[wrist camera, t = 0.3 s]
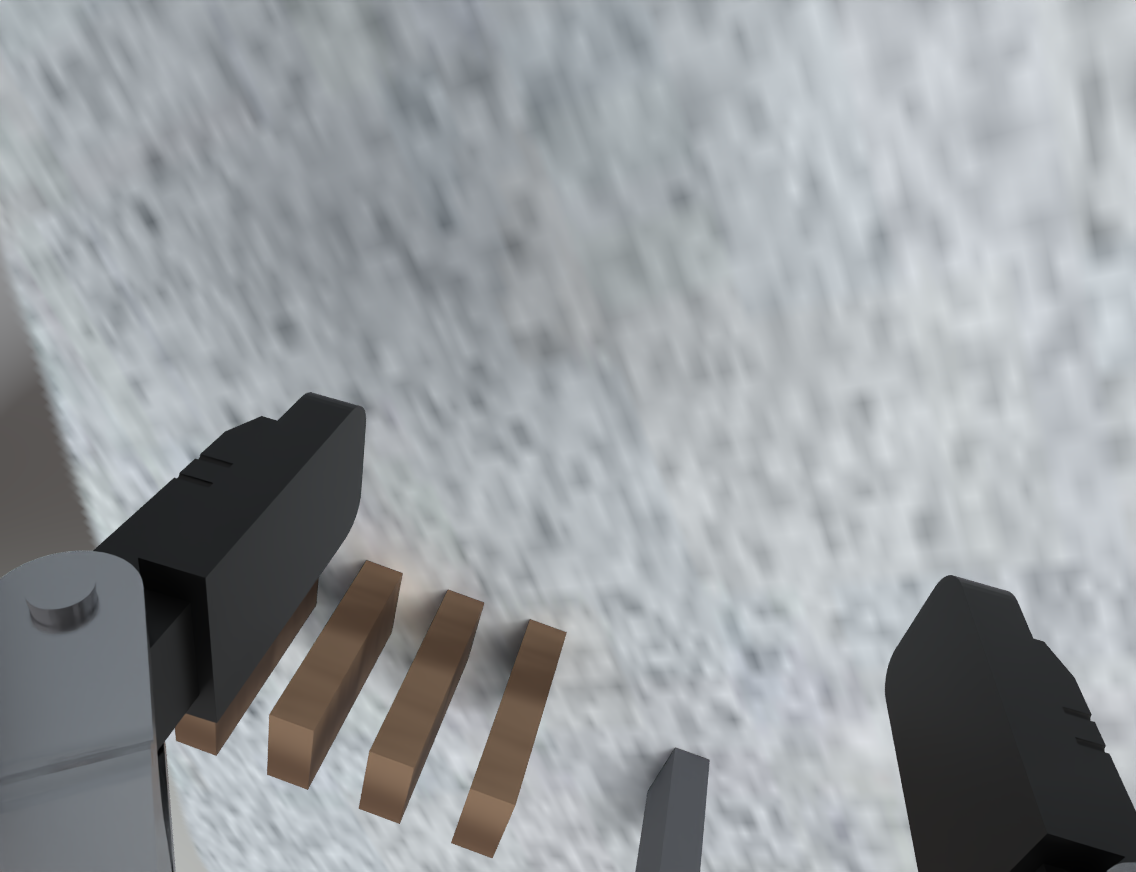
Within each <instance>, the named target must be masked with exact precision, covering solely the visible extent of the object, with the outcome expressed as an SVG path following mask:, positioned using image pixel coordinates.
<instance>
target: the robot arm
mask: <svg viewBox="0 0 1136 872" xmlns="http://www.w3.org/2000/svg"><path fill="white" fill-rule="evenodd" d="M365 428H366V414H365V410H364V408H363V407H361V406H358V405H354V404H350V403H347V402H343V401H340V400H336V399H333V398H329V397H326V396H322V395H319V394H315V393H312V392H309V393H306V394H305V395H303V396H302V397H301V398H300V399H299V400H298V401H297V402H296V403H295V404H294V405H293V406H292V407H291V408H290V409H289V410H288V411H287V412H286V413H285V414H284V415H283V416H282V417H281V418H280V419H279V420H278V421H277V420H273V419H270V418H266V417H263V416H261V417H258V418H256V419H254V420H251V421H249V422H247V423H244V424H242V425H240V426H237V427H235V428H232V429H230V430H228V431H225V432H224V433H223V434H222V435H221V436H220V437H219V438H218V439H217V440H215V441H214V442H213V443H212V444H211V445H210V446H209V447H208V448H207V449H205V450H204V451H203V452H202V453H201V454H200V458H199V459H194V460H193V461H192V462H191V463H190V464H189V465H188V466H187V467H186V468H184V469H183V470H182V471H181V472H180V473H179V477H178V478H173V479H172V480H171V481H170V482H169V483H168V484H167V485H166V486H164V487H163V488H162V489H161V490H160V491H159V492H158V493H157V494H156V495H154V496H153V497H152V498H151V499H150V500H149V501H148V502H147V503H146V504H144V505H143V506H142V507H141V508H140V509H139V510H138V511H137V512H136V513H134V514H133V515H132V516H131V517H130V518H129V519H128V520H127V521H126V522H125V523H123V524H122V525H121V526H120V527H119V528H118V529H117V530H116V531H115V532H113V533H112V534H111V535H110V536H109V537H108V538H107V539H106V540H105V541H103V542H102V543H101V544H100V545H99V546H98V547H97V548H96V549H95V550H93V551H71V552H62V553H57V554H52V555H48V556H44V557H41V558H38V559H35V560H33V561H30V562H28V563H25V564H23V565H21V566H19V567H17V568H15V569H13V570H12V571H10V572H9V573H7V574H6V575H4V576H3V577H1V578H0V872H176V870H175V857H174V844H173V832H172V818H171V807H170V793H169V780H168V767H167V754H166V744H165V740H166V739H167V738H168V736H169V735H170V734H171V732H172V731H173V730H174V728H175V727H176V726H177V724H178V723H179V722H180V720H181V719H182V717H183V716H184V715H185V714H189V715H192V716H195V717H198V718H201V719H205V720H208V721H211V722H214V723H218V721H219V720H220V718H221V717H222V715H223V714H224V712H225V711H226V710H227V708H228V707H229V705H230V704H231V702H232V701H233V700H234V698H235V697H236V695H237V694H238V692H239V691H240V689H241V688H242V687H243V685H244V684H245V682H246V681H247V679H248V678H249V677H250V675H251V674H252V672H253V671H254V669H255V668H256V666H257V665H258V664H259V662H260V661H261V659H262V658H263V656H264V655H265V654H266V652H267V651H268V649H269V648H270V646H271V645H272V643H273V642H274V641H275V639H276V638H277V636H278V635H279V633H280V632H281V631H282V629H283V628H284V626H285V625H286V623H287V622H288V620H289V619H290V618H291V616H292V615H293V613H294V612H295V610H296V609H297V607H298V606H299V605H300V603H301V602H302V600H303V599H304V597H305V596H306V595H307V593H308V592H309V590H310V589H311V587H312V586H313V584H314V583H315V582H316V580H317V579H318V577H319V576H320V574H321V573H322V572H323V570H324V569H325V567H326V566H327V564H328V563H329V561H330V560H331V559H332V557H333V556H334V554H335V553H336V551H337V550H338V549H339V547H340V546H341V544H342V543H343V541H344V540H345V538H346V537H347V535H348V533H349V531H350V529H351V527H352V525H353V523H354V520H355V517H356V514H357V511H358V508H359V503H360V498H361V487H362V473H363V458H364V443H365ZM885 697H886V703H887V708H888V714H889V719H890V724H891V730H892V735H893V740H894V746H895V751H896V756H897V761H898V767H899V772H900V777H901V783H902V788H903V793H904V799H905V804H906V809H907V814H908V820H909V825H910V830H911V836H912V841H913V846H914V852H915V857H916V862H917V867H918V872H1136V811H1135V809H1134V806H1133V804H1132V802H1131V800H1130V798H1129V795H1128V793H1127V791H1126V789H1125V787H1124V785H1123V782H1122V780H1121V778H1120V776H1119V774H1118V771H1117V769H1116V767H1115V765H1114V763H1113V761H1112V758H1111V756H1110V754H1108V753H1105V751H1104V748H1105V746H1106V745H1105V743H1104V741H1103V739H1102V737H1101V734H1100V732H1099V730H1098V728H1097V726H1096V723H1095V722H1092V721H1090V717H1091V713H1090V710H1089V708H1088V706H1087V704H1086V702H1085V699H1084V697H1083V695H1082V693H1081V691H1080V688H1079V686H1078V684H1077V682H1076V680H1075V678H1074V677H1073V675H1072V674H1071V673H1070V672H1069V671H1068V669H1067V668H1066V667H1065V666H1064V665H1063V664H1062V662H1061V661H1060V660H1059V659H1058V658H1057V657H1056V655H1055V654H1054V653H1053V652H1052V651H1051V649H1050V648H1049V647H1048V646H1047V645H1046V644H1045V642H1043V641H1040V640H1036V639H1033V637H1032V634H1031V632H1030V630H1029V627H1028V625H1027V623H1026V620H1025V618H1024V616H1023V613H1022V611H1021V608H1020V606H1019V604H1018V601H1017V600H1016V598H1015V596H1014V595H1013V594H1012V593H1010V592H1009V591H1006V590H1002V589H999V588H995V587H991V586H988V585H984V584H981V583H977V582H974V581H970V580H967V579H963V578H960V577H956V576H953V575H948V576H946V577H944V578H943V579H941V580H940V581H939V582H938V584H937V585H936V586H935V588H934V589H933V591H932V593H931V594H930V596H929V597H928V599H927V600H926V602H925V604H924V605H923V607H922V608H921V610H920V611H919V613H918V615H917V616H916V618H915V619H914V621H913V622H912V624H911V625H910V627H909V629H908V630H907V632H906V633H905V635H904V636H903V638H902V640H901V641H900V643H899V644H898V646H897V647H896V649H895V651H894V653H893V655H892V657H891V659H890V662H889V665H888V669H887V674H886V681H885Z"/></svg>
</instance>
